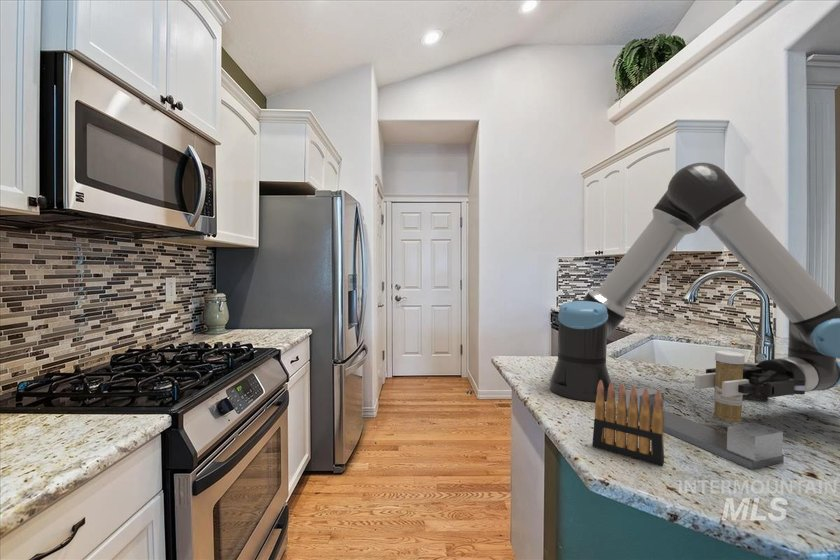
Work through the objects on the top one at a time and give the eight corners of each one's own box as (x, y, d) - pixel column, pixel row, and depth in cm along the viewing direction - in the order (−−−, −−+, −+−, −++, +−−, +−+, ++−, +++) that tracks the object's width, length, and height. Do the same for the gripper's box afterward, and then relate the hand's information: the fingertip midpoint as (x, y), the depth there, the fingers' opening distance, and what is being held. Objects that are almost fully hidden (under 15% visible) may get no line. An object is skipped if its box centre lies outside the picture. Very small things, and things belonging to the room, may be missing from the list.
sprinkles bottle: (718, 421, 74) (720, 353, 74) (709, 413, 78) (711, 349, 78) (746, 424, 73) (749, 355, 72) (736, 416, 77) (739, 351, 77)
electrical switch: (768, 398, 96) (770, 363, 95) (773, 406, 92) (775, 369, 91) (721, 391, 101) (723, 358, 100) (724, 398, 97) (725, 363, 96)
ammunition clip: (592, 446, 67) (593, 380, 67) (594, 443, 69) (596, 377, 68) (662, 466, 61) (664, 392, 60) (664, 462, 62) (666, 390, 62)
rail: (621, 413, 84) (622, 390, 83) (648, 409, 86) (648, 387, 86) (752, 469, 60) (753, 437, 60) (783, 462, 63) (784, 431, 62)
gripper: (838, 407, 73) (762, 421, 65) (737, 382, 90) (667, 391, 82) (840, 369, 73) (763, 378, 65) (738, 351, 89) (668, 356, 82)
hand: (710, 385), depth 74 cm, fingers closed on sprinkles bottle, 4 cm apart
